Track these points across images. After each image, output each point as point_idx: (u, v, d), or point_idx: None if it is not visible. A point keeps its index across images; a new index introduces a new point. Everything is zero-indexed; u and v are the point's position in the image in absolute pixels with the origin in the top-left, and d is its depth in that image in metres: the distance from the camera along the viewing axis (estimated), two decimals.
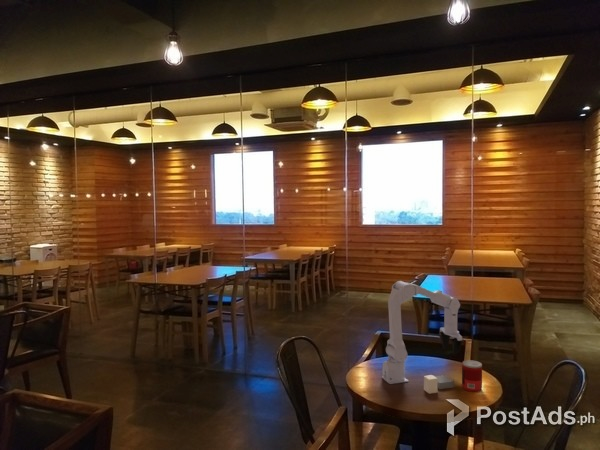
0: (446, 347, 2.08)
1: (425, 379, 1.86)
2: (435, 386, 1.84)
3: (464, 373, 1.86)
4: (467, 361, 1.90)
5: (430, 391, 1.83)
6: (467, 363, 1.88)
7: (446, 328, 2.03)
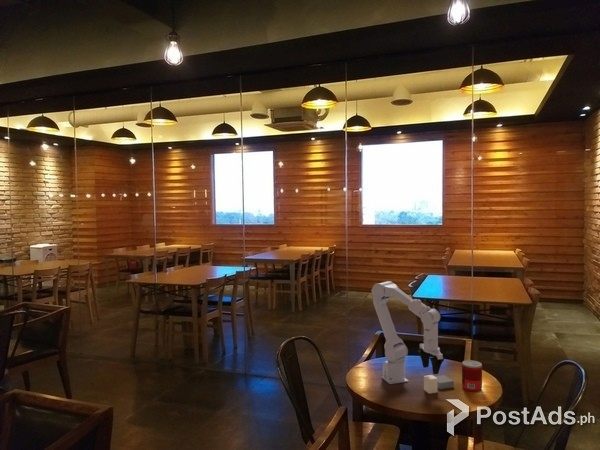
0: (426, 365, 1.89)
1: (425, 379, 1.86)
2: (435, 386, 1.84)
3: (464, 373, 1.86)
4: (467, 361, 1.90)
5: (430, 391, 1.83)
6: (467, 363, 1.88)
7: (425, 345, 1.83)
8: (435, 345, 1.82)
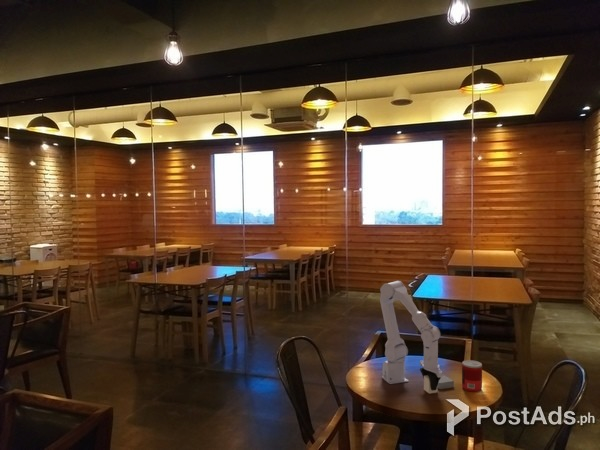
0: None
1: (425, 379, 1.86)
2: None
3: (464, 373, 1.86)
4: (467, 361, 1.90)
5: (430, 391, 1.83)
6: (467, 363, 1.88)
7: (425, 362, 1.84)
8: (435, 363, 1.82)
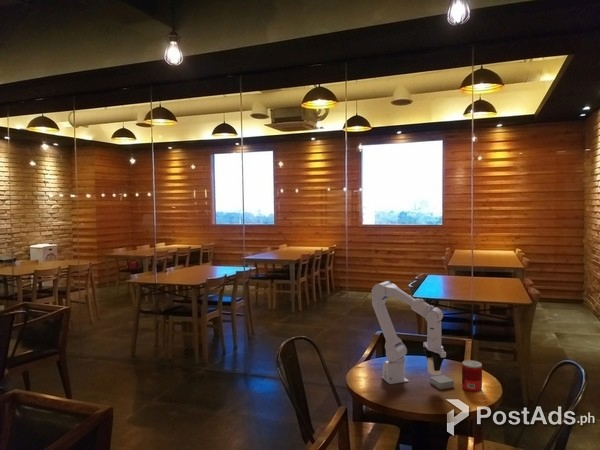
0: None
1: (429, 361, 1.87)
2: None
3: (464, 373, 1.86)
4: (467, 361, 1.90)
5: (434, 373, 1.85)
6: (467, 363, 1.88)
7: (429, 343, 1.85)
8: (438, 343, 1.84)
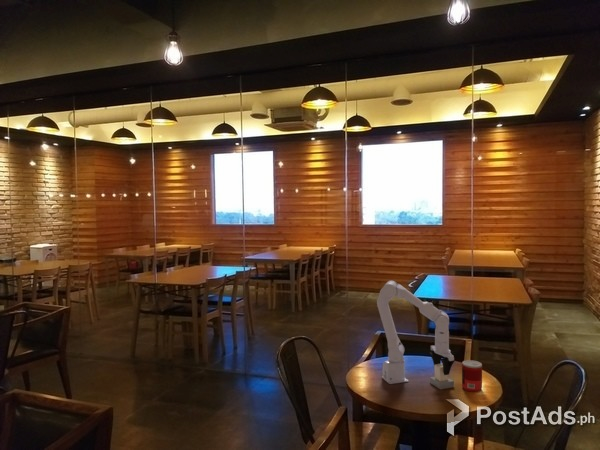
0: None
1: (436, 367, 1.91)
2: None
3: (464, 373, 1.86)
4: (467, 361, 1.90)
5: (441, 379, 1.89)
6: (467, 363, 1.88)
7: (437, 347, 1.89)
8: (446, 347, 1.88)
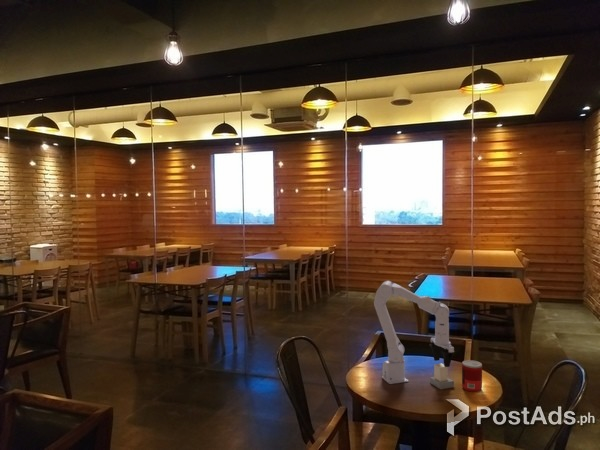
0: (437, 359, 1.95)
1: (436, 367, 1.91)
2: (445, 374, 1.90)
3: (464, 373, 1.86)
4: (467, 361, 1.90)
5: (441, 379, 1.89)
6: (467, 363, 1.88)
7: (437, 339, 1.89)
8: (446, 339, 1.88)
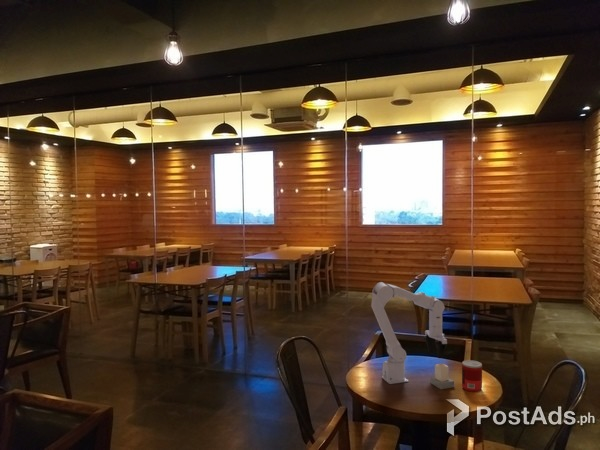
0: (431, 350, 2.03)
1: (436, 368, 1.91)
2: (446, 374, 1.90)
3: (464, 373, 1.86)
4: (467, 361, 1.90)
5: (442, 379, 1.89)
6: (467, 363, 1.88)
7: (431, 331, 1.97)
8: (440, 331, 1.96)
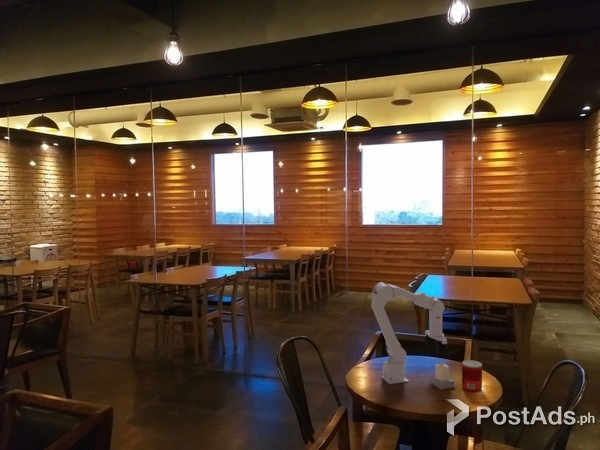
0: (431, 350, 2.03)
1: (437, 367, 1.91)
2: (447, 374, 1.90)
3: (464, 373, 1.86)
4: (467, 361, 1.90)
5: (442, 379, 1.89)
6: (467, 363, 1.88)
7: (431, 331, 1.97)
8: (440, 331, 1.96)
